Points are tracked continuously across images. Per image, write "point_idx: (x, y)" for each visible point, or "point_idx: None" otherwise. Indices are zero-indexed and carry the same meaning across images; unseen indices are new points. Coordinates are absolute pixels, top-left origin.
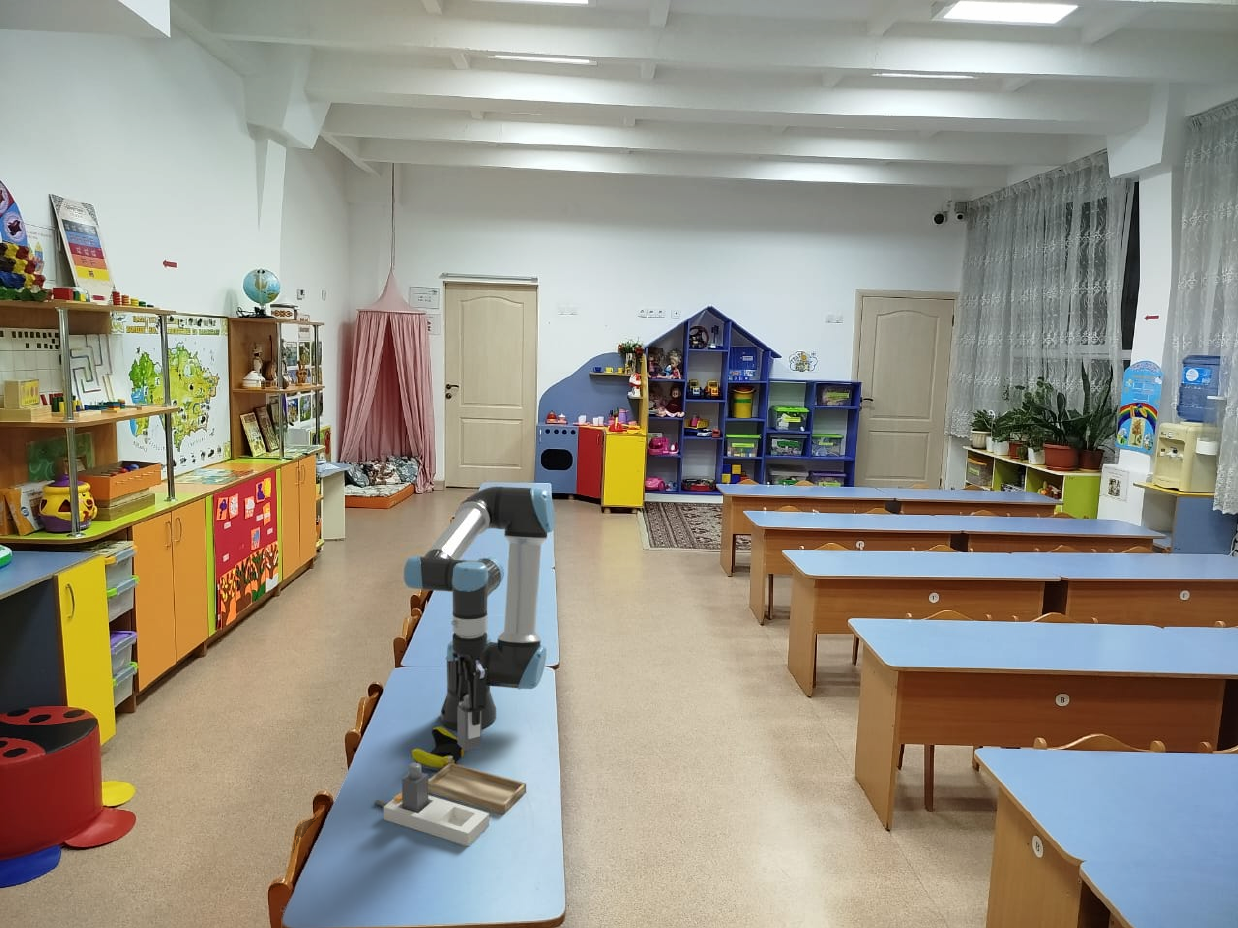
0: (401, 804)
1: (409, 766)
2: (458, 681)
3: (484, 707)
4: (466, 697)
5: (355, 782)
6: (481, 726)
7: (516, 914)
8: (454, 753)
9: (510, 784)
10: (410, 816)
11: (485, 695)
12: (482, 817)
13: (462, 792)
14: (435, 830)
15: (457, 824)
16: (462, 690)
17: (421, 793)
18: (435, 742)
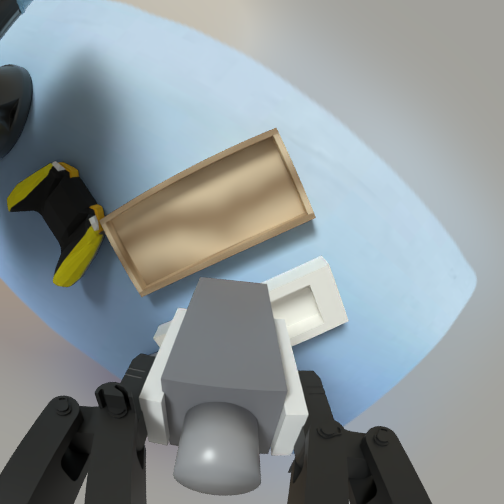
0: None
1: None
2: (67, 499)
3: (394, 444)
4: (218, 489)
5: (81, 349)
6: (274, 324)
7: (456, 315)
8: (79, 201)
9: (242, 149)
10: None
11: (427, 500)
12: (330, 280)
13: (216, 259)
14: None
15: (284, 300)
16: (145, 496)
17: None
18: (32, 210)
